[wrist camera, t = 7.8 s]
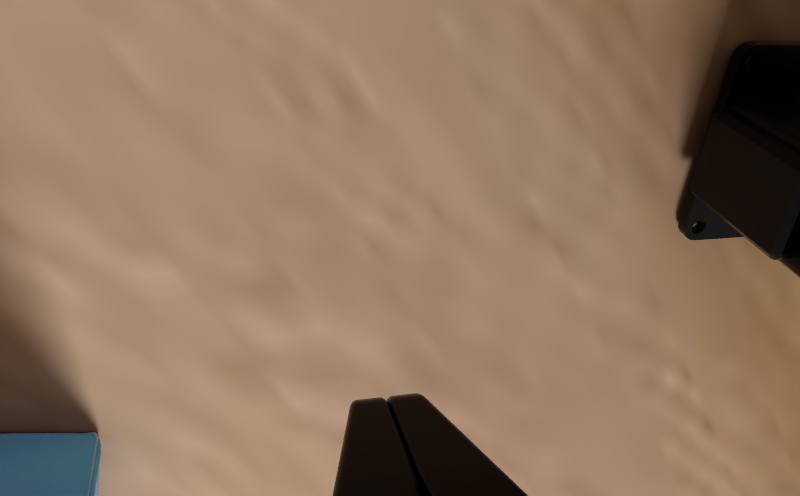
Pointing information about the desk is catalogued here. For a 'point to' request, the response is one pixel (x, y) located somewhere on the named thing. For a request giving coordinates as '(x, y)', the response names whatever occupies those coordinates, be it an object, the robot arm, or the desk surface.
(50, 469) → the ink box
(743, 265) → the desk surface
